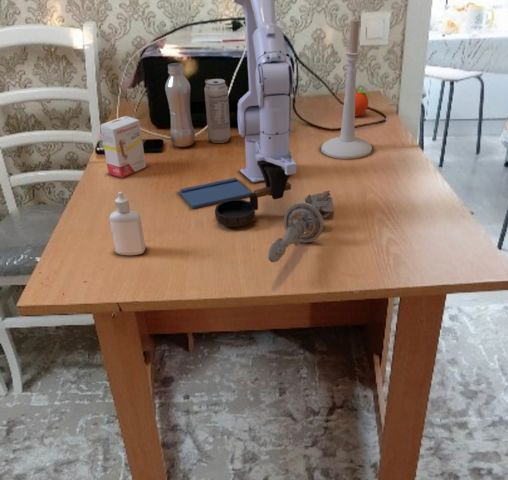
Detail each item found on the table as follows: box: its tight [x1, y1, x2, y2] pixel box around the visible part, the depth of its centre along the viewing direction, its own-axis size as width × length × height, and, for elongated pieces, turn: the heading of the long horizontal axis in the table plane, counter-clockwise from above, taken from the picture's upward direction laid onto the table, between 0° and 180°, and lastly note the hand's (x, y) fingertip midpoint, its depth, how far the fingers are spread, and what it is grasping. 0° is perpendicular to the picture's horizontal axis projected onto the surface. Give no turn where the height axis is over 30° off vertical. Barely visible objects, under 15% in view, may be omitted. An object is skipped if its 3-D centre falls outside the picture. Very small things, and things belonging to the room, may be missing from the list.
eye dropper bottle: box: [108, 191, 146, 256], centre depth 110 cm, size 4×6×12 cm
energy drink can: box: [204, 78, 231, 144], centre depth 156 cm, size 6×6×15 cm
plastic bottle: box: [164, 62, 196, 148], centre depth 152 cm, size 6×7×20 cm
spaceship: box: [267, 190, 334, 263], centre depth 112 cm, size 8×35×8 cm
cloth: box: [178, 177, 252, 209], centre depth 133 cm, size 14×9×1 cm, turn 114°
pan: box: [214, 181, 292, 228], centre depth 121 cm, size 16×8×4 cm, turn 114°
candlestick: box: [321, 17, 373, 160], centre depth 143 cm, size 13×13×30 cm
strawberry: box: [355, 89, 373, 117], centre depth 171 cm, size 8×7×7 cm
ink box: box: [100, 115, 147, 179], centre depth 142 cm, size 9×5×12 cm, turn 143°
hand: (275, 196), depth 123 cm, fingers closed on pan
